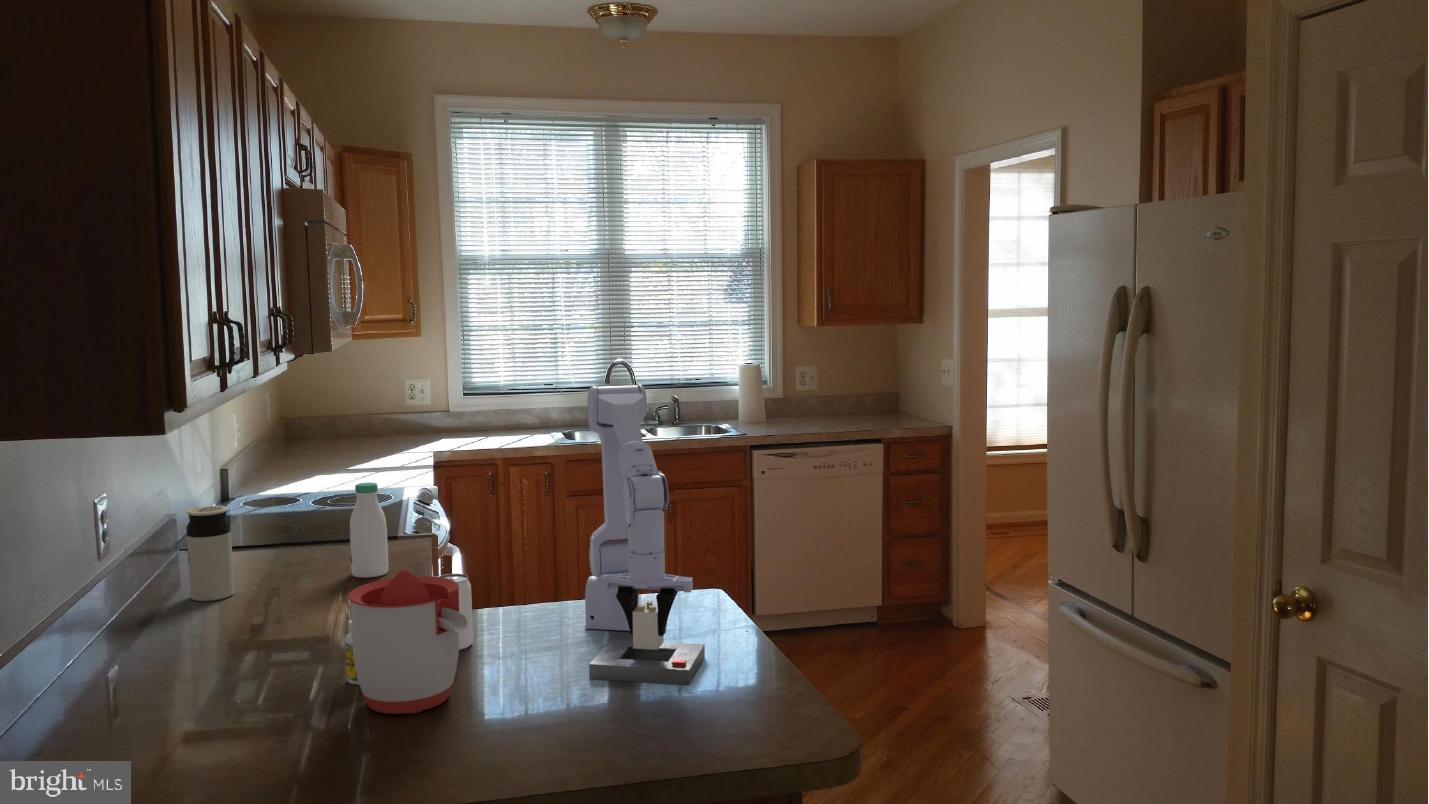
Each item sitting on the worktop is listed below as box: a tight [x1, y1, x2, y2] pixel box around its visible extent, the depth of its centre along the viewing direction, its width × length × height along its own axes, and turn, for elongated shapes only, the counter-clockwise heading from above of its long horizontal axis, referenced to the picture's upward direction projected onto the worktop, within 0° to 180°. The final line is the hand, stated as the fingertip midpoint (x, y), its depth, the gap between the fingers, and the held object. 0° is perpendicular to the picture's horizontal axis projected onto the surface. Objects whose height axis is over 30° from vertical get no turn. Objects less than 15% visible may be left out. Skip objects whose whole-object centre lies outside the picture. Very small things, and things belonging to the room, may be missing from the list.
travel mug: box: [185, 505, 235, 602], centre depth 207 cm, size 8×8×18 cm
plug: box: [632, 600, 665, 650], centre depth 164 cm, size 4×4×7 cm
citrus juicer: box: [348, 569, 467, 715], centre depth 151 cm, size 16×17×20 cm
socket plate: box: [588, 638, 706, 686], centre depth 164 cm, size 16×12×3 cm
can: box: [437, 573, 474, 651], centre depth 176 cm, size 6×6×12 cm
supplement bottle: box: [344, 619, 360, 686], centre depth 160 cm, size 5×5×10 cm
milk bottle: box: [349, 482, 389, 579], centre depth 223 cm, size 8×8×20 cm
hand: (648, 633), depth 164 cm, fingers closed on plug, 4 cm apart
